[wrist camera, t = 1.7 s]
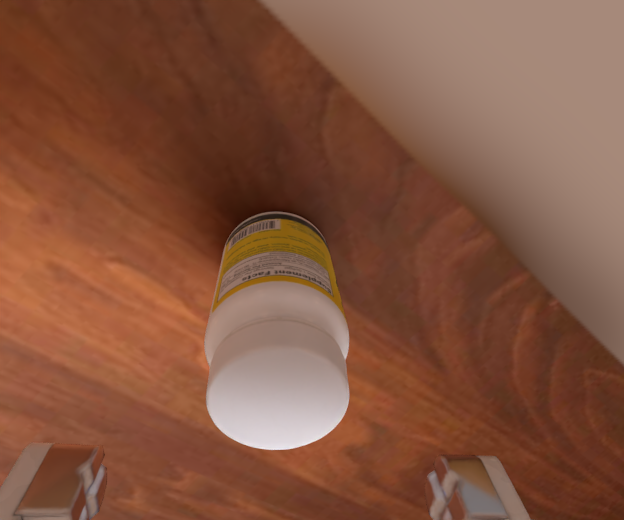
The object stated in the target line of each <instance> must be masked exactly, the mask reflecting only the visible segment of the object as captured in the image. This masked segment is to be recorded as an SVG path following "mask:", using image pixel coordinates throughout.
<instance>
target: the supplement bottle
mask: <svg viewBox="0 0 624 520" xmlns="http://www.w3.org/2000/svg"><path fill="white" fill-rule="evenodd" d="M204 345H205V354H206V358H207V362H208V364H209V367H210V371H209V379H208V385H207V392H206V404H207V409H208V412H209V415H210V417H211V419H212V420H213V422H214V423H215V425H216V426H217V427H218V428H219V429H220V430H221V431H222V432H223V433H224V434H226V435H227V436H228V437H230V438H232V439H233V440H235V441H237V442H239V443H242V444H244V445H247V446H251V447H255V448H260V449H268V450H283V449H292V448H296V447H300V446H303V445H307V444H309V443H312V442H314V441H317V440H318V439H320V438H322V437H323V436H325V435H326V434H328V433H329V432H330V431H332V430H333V429H334V428H335V427H336V426H337V424H338V423H339V422H340V421H341V419H342V418H343V416H344V414H345V412H346V410H347V407H348V403H349V385H348V379H347V369H346V362H345V359H346V357H347V354H348V348H349V331H348V325H347V321H346V317H345V313H344V310H343V306H342V302H341V298H340V294H339V289H338V285H337V281H336V277H335V273H334V269H333V265H332V261H331V257H330V253H329V249H328V246H327V243H326V241H325V239H324V237H323V235H322V234H321V233H320V231H319V230H318V229H317V228H316V227H315V226H314V225H313V224H312V223H310V222H309V221H308V220H306V219H304V218H302V217H300V216H298V215H295V214H291V213H287V212H276V211H275V212H265V213H261V214H257V215H255V216H252V217H250V218H248V219H246V220H245V221H243V222H242V223H241V224H239V225H238V226H237V227H236V228H235V229H234V230H233V232H232V233H231V234H230V236H229V238H228V239H227V242H226V244H225V247H224V250H223V256H222V260H221V265H220V270H219V274H218V279H217V284H216V289H215V293H214V298H213V302H212V307H211V311H210V316H209V320H208V324H207V329H206V333H205V341H204Z"/></svg>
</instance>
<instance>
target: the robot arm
mask: <svg viewBox="0 0 624 520" xmlns="http://www.w3.org/2000/svg"><path fill="white" fill-rule="evenodd" d="M104 455H105V454H104V449H103V446H100V445H80V444H60V443H36V442H31V443H30V444H29V445H28V446H27V447H26V448H25V449H24V450H23V451H22V453H21V455H20V456H19V458H18V460H17V461H16V463H15V465H14V466H13V468H12V470H11V471H10V473H9V474H8V476H7V478H6V479H5V481H4V483H3V484H2V486H1V488H0V520H90V519H91V518H92V517H93V516H94V515H96V514H97V513H98V512H99V509H100V507H101V504H102V501H103V498H104V493H105V489H106V484H107V469H106V467H105V466H104V465H102V464H101V463H102V461H103V458H104ZM433 465H434V468H435V471H433V472H432V473H430V474H429V475H428V477H427V479H426V482H425V500H426V505H427V509H428V512H429V515H430V516H431V517H432V518H433V519H434V520H532V519H530V517H529V515H528V513H527V511H526V509H525V507H524V506H523V504H522V502H521V500H520V498H519V496H518V494H517V492H516V490H515V488H514V487H513V485H512V483H511V481H510V479H509V477H508V475H507V473H506V471H505V470H504V468H503V466H502V464H501V462H500V460H499V459H498V458H497V457H496V456H475V455H438V456H437V457H436V458H435V460H434V462H433Z"/></svg>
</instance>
